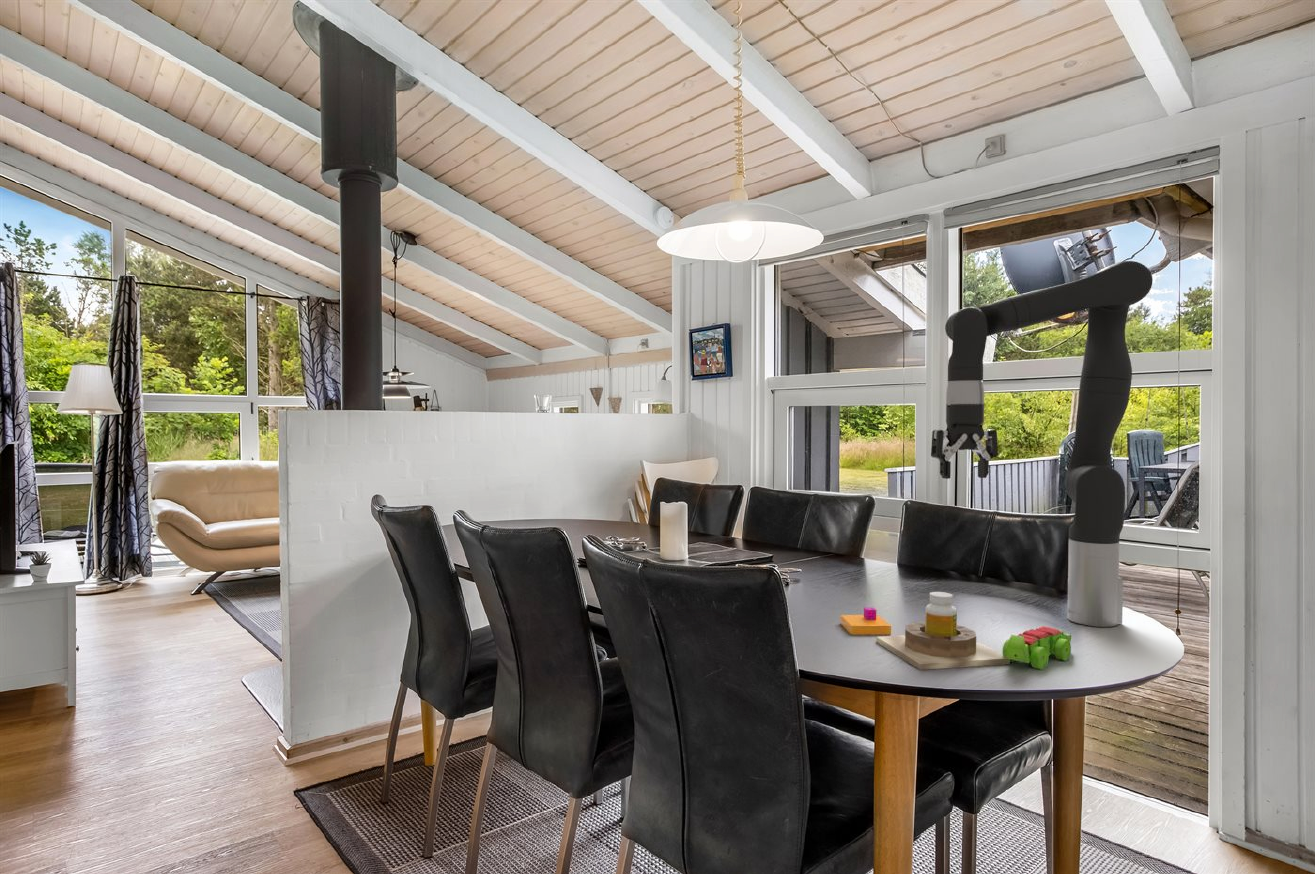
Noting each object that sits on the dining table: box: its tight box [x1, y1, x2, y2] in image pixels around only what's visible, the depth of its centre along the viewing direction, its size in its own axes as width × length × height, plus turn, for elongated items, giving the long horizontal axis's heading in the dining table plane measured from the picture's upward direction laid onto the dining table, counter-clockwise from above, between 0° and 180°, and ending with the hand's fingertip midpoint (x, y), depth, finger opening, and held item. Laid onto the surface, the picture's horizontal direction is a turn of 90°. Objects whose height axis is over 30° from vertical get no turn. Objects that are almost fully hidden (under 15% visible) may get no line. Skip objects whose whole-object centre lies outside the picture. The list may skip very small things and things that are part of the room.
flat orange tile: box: [840, 606, 892, 636], centre depth 152 cm, size 8×8×4 cm
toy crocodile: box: [1002, 626, 1072, 670], centre depth 132 cm, size 20×7×6 cm, turn 126°
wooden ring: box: [904, 621, 977, 658], centre depth 136 cm, size 12×12×3 cm
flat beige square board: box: [875, 634, 1010, 671], centre depth 136 cm, size 17×16×1 cm
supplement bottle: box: [924, 591, 958, 637], centre depth 136 cm, size 5×5×10 cm
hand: (964, 478), depth 159 cm, fingers open, 8 cm apart
